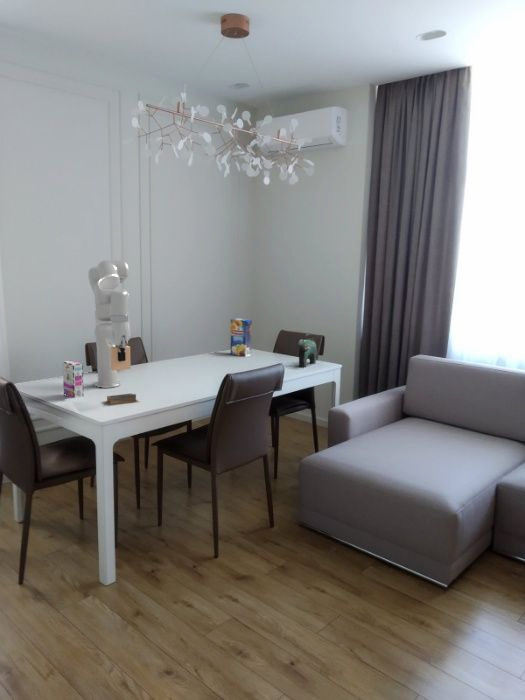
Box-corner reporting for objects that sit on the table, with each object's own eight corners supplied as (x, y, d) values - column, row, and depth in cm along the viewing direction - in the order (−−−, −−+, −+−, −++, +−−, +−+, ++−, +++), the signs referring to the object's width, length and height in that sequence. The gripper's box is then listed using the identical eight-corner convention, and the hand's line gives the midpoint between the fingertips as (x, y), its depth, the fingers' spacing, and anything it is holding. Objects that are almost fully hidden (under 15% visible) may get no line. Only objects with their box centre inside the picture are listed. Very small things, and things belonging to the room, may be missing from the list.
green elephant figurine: (304, 368, 331) (305, 335, 327) (294, 367, 334) (295, 334, 331) (318, 363, 347) (319, 332, 344) (309, 362, 351) (310, 331, 347)
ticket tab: (110, 369, 242) (110, 347, 240) (128, 367, 246) (128, 345, 244) (112, 370, 239) (112, 348, 237) (130, 369, 243) (130, 346, 241)
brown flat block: (103, 403, 245) (103, 394, 244) (134, 399, 252) (133, 390, 251) (108, 408, 238) (108, 398, 237) (139, 404, 245) (139, 394, 244)
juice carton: (251, 355, 371) (251, 319, 366) (245, 356, 364) (246, 320, 360) (236, 353, 376) (236, 318, 372) (230, 354, 370) (230, 319, 366)
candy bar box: (84, 398, 253) (83, 363, 250) (74, 400, 250) (72, 364, 247) (73, 393, 261) (72, 359, 258) (63, 395, 257) (61, 361, 255)
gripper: (105, 317, 243) (106, 357, 247) (116, 321, 230) (117, 364, 233) (122, 316, 247) (123, 356, 250) (133, 320, 233) (134, 362, 237)
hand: (120, 359), depth 242 cm, fingers closed on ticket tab, 3 cm apart
